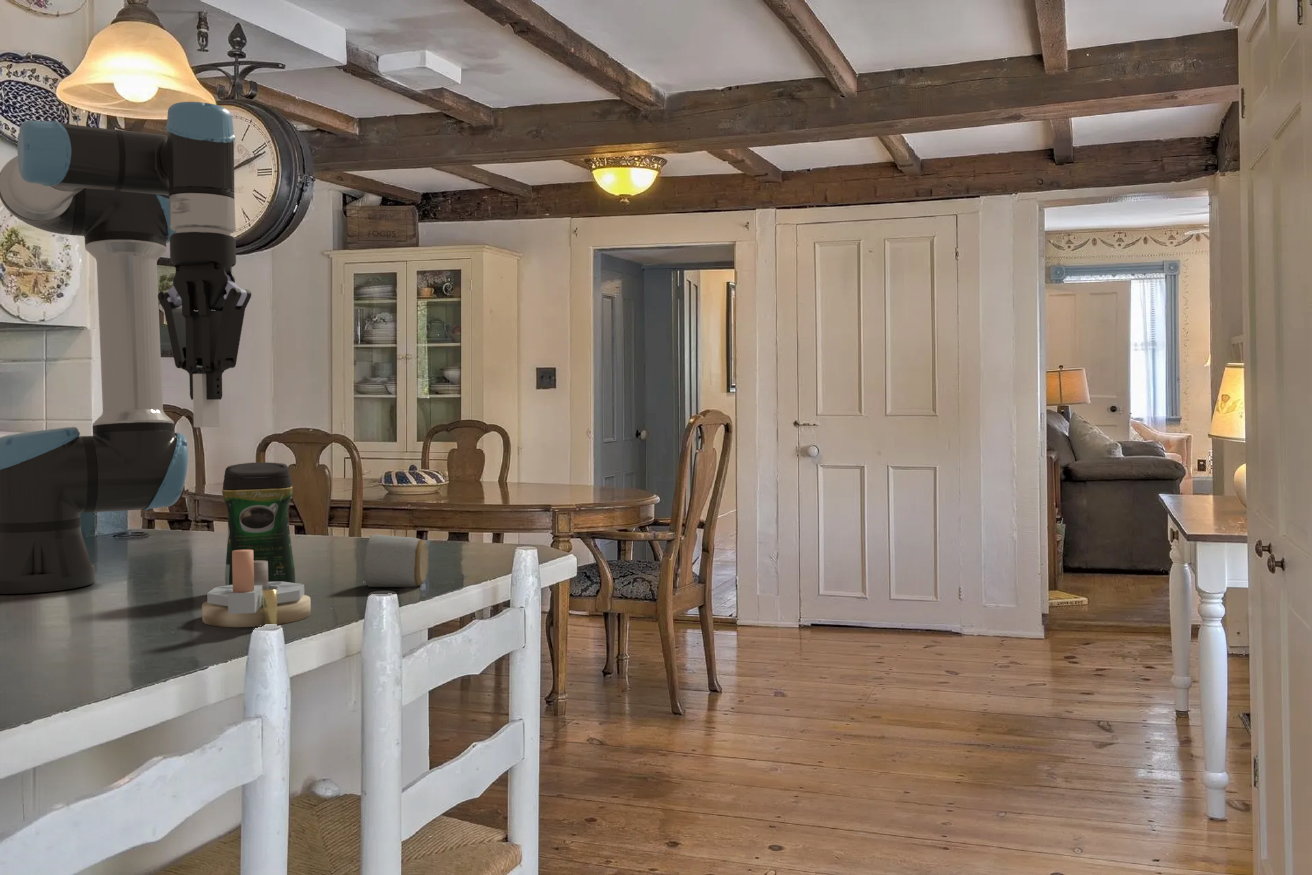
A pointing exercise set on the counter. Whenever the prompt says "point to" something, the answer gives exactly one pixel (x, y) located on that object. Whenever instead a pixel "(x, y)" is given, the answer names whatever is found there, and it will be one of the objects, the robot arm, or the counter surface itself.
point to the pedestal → (285, 611)
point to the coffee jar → (259, 516)
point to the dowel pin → (270, 606)
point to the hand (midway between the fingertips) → (206, 426)
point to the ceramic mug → (395, 561)
